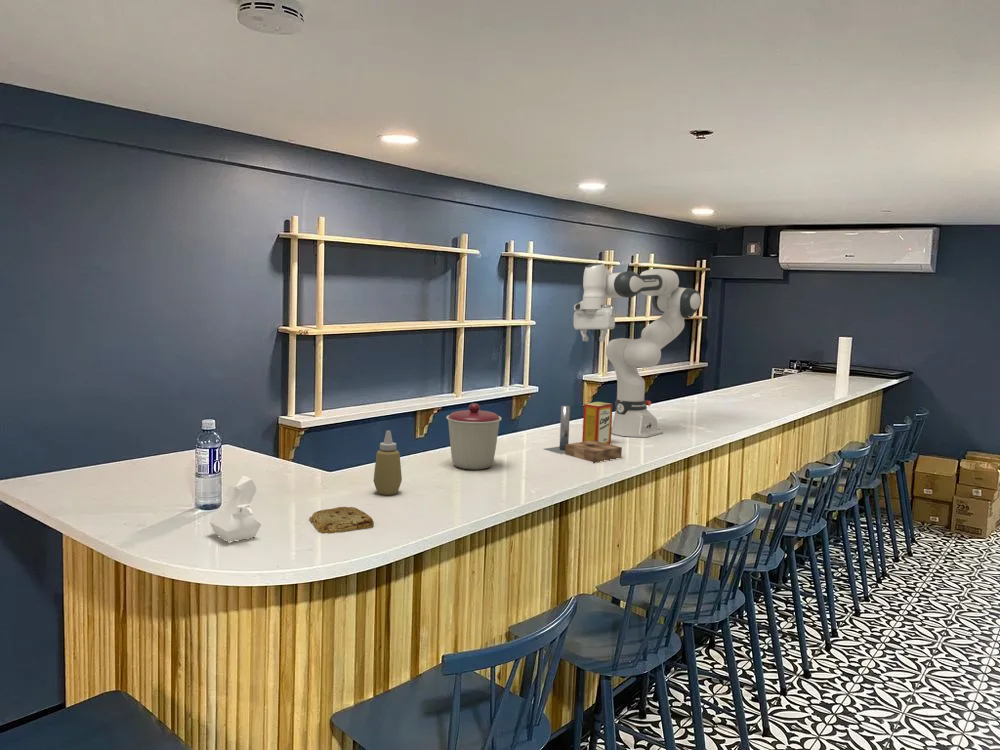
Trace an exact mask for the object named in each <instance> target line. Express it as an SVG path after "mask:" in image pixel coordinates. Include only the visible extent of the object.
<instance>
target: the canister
mask: <svg viewBox="0 0 1000 750" xmlns="http://www.w3.org/2000/svg"><path fill="white" fill-rule="evenodd" d="M480 407H481V406H480V405H479V404H478V403H476V402H475V403H470V404H469V405H468V409H464V410H457V411H453V412H451V413H450V414H448V415H446V416H445V417H446V419H447V421H448V433H449V443H450V454H451V459H452V463H453V465H454V466H455V467H457V468H459V469H462V470H471V471H473V470H474V471H475V470H478V471H479V470H484V469H487V468H490V467H491V466H492V465H493V463H494V460H495V455H496V449H497V448H496V447H497V442H498V435H499V429H500V428H499V427H500V422H501V421H502V416H500V415H498V414H497V413H495V412H492V411H490V410H489V411H488V410H481V408H480Z"/></svg>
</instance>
